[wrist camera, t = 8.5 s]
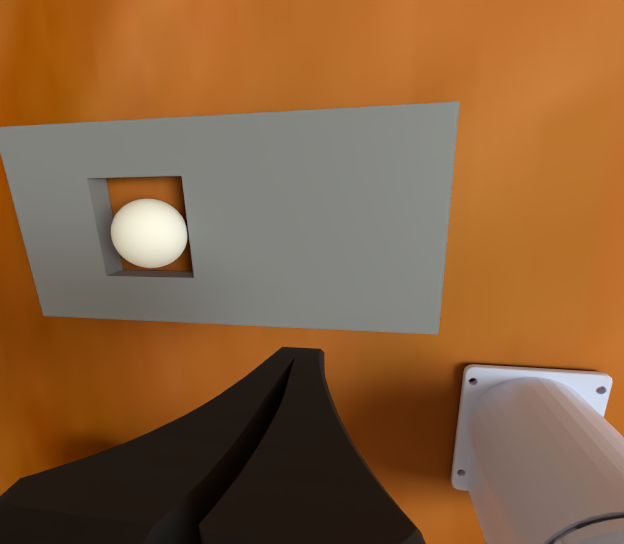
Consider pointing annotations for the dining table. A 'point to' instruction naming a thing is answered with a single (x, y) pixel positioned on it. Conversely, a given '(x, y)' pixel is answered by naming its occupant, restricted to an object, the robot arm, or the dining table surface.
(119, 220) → the ball
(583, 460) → the robot arm
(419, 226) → the board
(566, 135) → the dining table surface
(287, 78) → the dining table surface
